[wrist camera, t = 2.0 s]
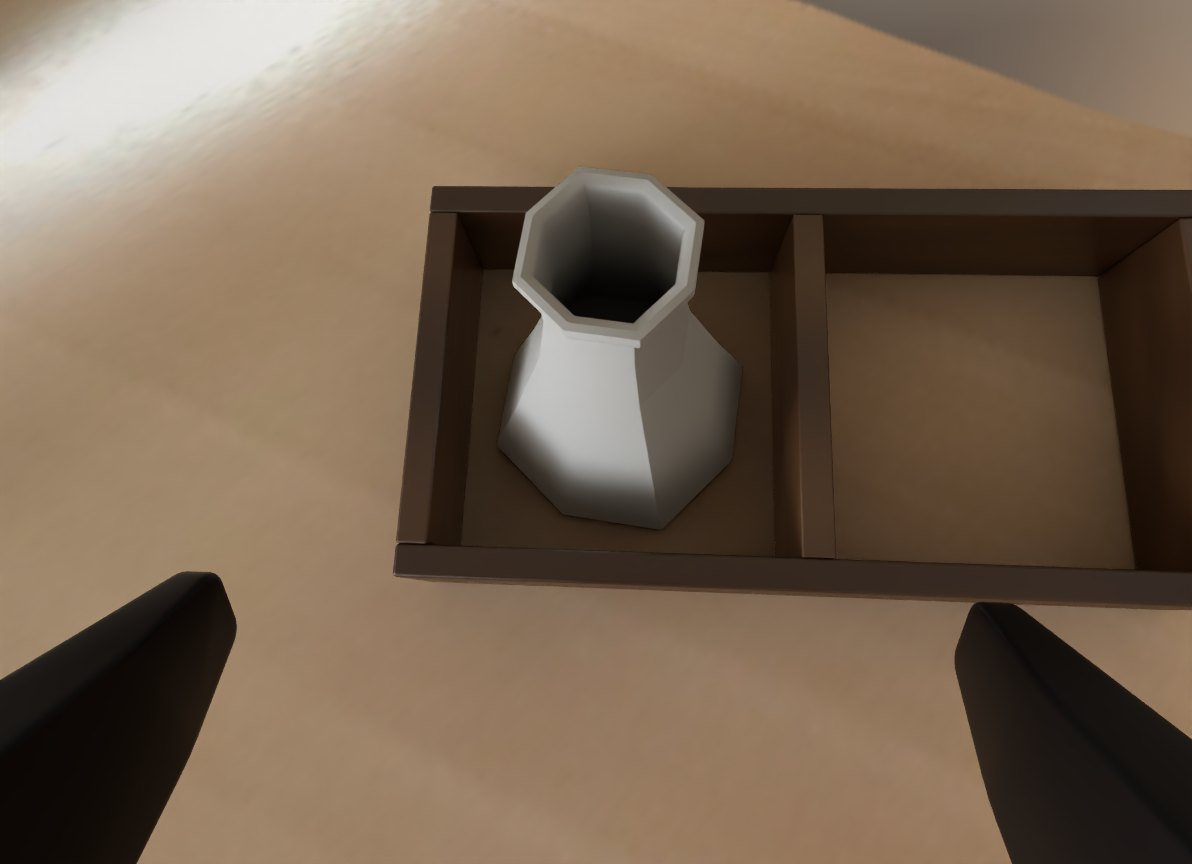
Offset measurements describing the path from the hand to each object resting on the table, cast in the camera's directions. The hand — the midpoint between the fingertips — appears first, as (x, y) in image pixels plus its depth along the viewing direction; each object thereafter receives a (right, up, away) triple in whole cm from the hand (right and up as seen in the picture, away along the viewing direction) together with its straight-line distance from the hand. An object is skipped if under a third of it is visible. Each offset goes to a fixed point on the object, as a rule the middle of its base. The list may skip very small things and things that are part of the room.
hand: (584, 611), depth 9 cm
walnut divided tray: (+6, +3, +13) cm, 14 cm away
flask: (+1, +3, +13) cm, 14 cm away
